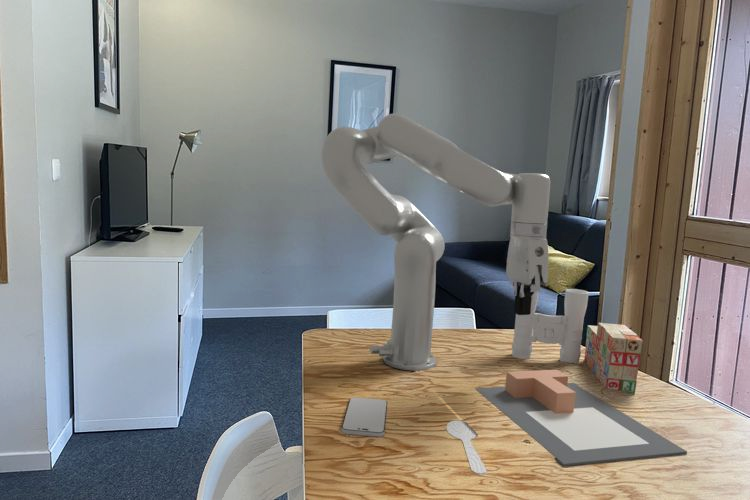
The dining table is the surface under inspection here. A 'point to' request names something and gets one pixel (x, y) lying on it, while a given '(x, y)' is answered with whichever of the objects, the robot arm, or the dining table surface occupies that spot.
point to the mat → (582, 429)
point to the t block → (542, 388)
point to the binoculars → (552, 328)
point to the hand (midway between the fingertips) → (522, 313)
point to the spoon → (467, 444)
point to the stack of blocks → (613, 355)
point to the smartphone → (365, 417)
